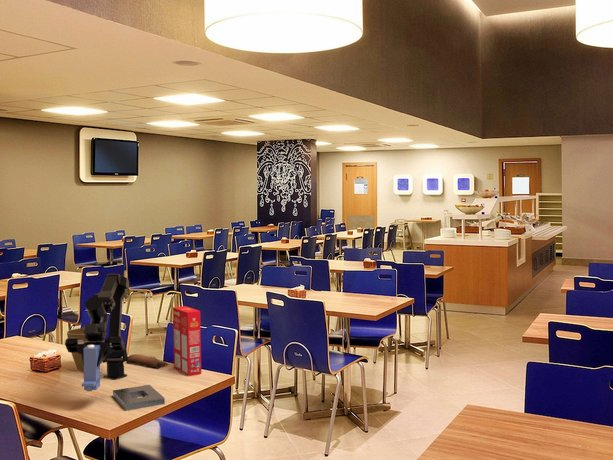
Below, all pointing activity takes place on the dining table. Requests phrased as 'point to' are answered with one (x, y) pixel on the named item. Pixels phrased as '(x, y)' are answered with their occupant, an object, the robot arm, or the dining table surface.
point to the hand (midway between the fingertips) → (90, 366)
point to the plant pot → (77, 356)
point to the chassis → (130, 402)
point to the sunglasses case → (146, 361)
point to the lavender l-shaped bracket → (91, 368)
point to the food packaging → (187, 340)
